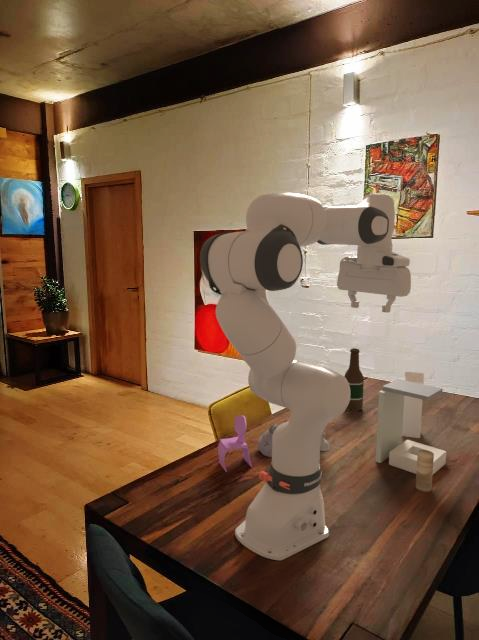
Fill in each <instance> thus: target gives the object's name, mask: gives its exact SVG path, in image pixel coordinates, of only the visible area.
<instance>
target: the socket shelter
mask: <svg viewBox="0 0 479 640" xmlns="http://www.w3.org/2000/svg"><path fill="white" fill-rule="evenodd" d="M443 390H444V389H443V387H442V388H441V387H436V386H432V385H428V384H424V385H423V384H419V383H414V382H409V381H405V379H404V380H403V379H399V378H397V379H395V380H393V381H391V382H389V383H386V384H384V385H382V390H380V391H378V406H377V425H376V444H375V445H376V447H375V448H376V449H375V462H376V463H379V464H381V463H383V462H384V461H385V460H387V459H388V466H389V465H390V466H392V467H394V468H398V469H402V470H404V471H407V472H410V473H412V474H415V475H416V472H417V457H418V451H419V450H428V451H431V452H433V453H434V460H433V475H434V474H436V473H437V472H438V471H439V470H440V469H442V467H443V466H445V465H446V461H447V460H446V459H447V451H446V450H443V449H440V448H437V447H434V446H431V445H427V444H423V443H421V442H417V441H414V440H411V439H406V440H405V441H403V436H402V428H403V411H404V395H405V396H409V397H414V398H418V399H422V400H423V401H426V402H429V401H431V400H432V399H434V398H436V397H437V396H439V395H441V394H442V393H443Z"/></svg>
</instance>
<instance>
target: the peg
mask: <svg viewBox="0 0 479 640" xmlns="http://www.w3.org/2000/svg"><path fill="white" fill-rule="evenodd" d="M433 460H434V453H433V452H431V451H428V450H419V451H418V457H417V472H416V474H415V475H416V476H415V488H416V490H418V491H421V492H423V493H429V492H432V486H433V476H434V474H433Z"/></svg>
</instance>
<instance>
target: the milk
mask: <svg viewBox="0 0 479 640" xmlns="http://www.w3.org/2000/svg"><path fill="white" fill-rule="evenodd" d="M424 377H425V374H424V373H423V372H418V371H417V372H413V371H405V372H404V381H409V382H414V383H419V384H423V385H425V384H424V380H425V379H424ZM423 401H424V400H422V399H418V398H414V397H409V396H405V395H404V411H403V428H402V437H407V438H414V439H421V432H422V430H421V429H422V413H423Z"/></svg>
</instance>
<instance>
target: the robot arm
mask: <svg viewBox="0 0 479 640" xmlns="http://www.w3.org/2000/svg"><path fill="white" fill-rule="evenodd" d="M395 217H396V215H395V203H394V199H393V198H392V197H391V196H390V195H387V194H385V193H383V194H382V193H368V194H365V195H364V196H363V199H362V202H360V203H358V204H357V205H345V206H344V205H340V206H339V205H338V206H337V205H336V206H334V205H323V204H322V203H321V201H320V200H318V199H317V198H314V197H313V196H308V195H306V194H301V193H294V192H271V193H266V194H265V193H264V194H261V195H259V196H257V197H256V198H254V199H253V200H252V201H251V202H250V203H249V205H248V208H247V210H246V215H245V224H246V229H245V230H244V231H235V232H221V233H217V234H215V235H213V236H211V237H209V238H208V239H206V240H205V242H203V244H202V246H201V248H200V252H199V253H200V254H199V261H200V267H201V271H202V273H203V275H204V277H205V280H207V282H208V286H209V288H210V290H211V291H212V292H213V293H216V294H217V295H219V296H220V295H221V296H220V298H219V299H218V301H217V304H216V306H215V316H216V320H217V322H218V324H219V326H220V328H221V330H222V332H223V334H224V335H225V337H226V338H227V340H228V341H229V343H230V344H231V346H232V347H233V349H234V350H236V352H237V354H238V355H239V356H240V357H241V359H242V360H243V361H244V362H245V363H246V364H247V366H248V367H249V368H250V369H249V372H248V375H247V376H248V377H247V382H248V387H249V390H250V391H251V392H252V393H253V394H254V395H255V396H256V397H258V398H260V399H262V400H263V401H265V402H267V403H269V404H273V405H276V406H279V407H282V408H285V409H288V410H289V414H290V416H289V420H288V421H285V422H283V423H281V424H280V425H278V426H277V428H276V430H275V431H274V433H273V435H272V457H271V462H270V465H269V467H268V472H266V471H264V470H262V471H260V473H259V476H258V477H259V478H258V479H259V480H260V481H264V482H265V483H264V485H263V486H262V487H261V489H259V492H258V493H257V494H256V495H255V497H254V499H253V500H252V501H251V503H250V504H249V506H248V507H247V509H246V515H245V519H244V520H243V521H242V522H241V523H240V524H239V525H238V526H237V527H236V528H235V529H234V531H235V532H234V535H235V538H236V539H237V540H238V542H239V543H241V545H243V546H244V547H245V548H247V549H248V550H250V551H251V552H253V553H255V554H256V555H259V556H261V557H263V558H265V559H270V560H275V561H283V560H285V559H287V558H289V557H292V556H293V555H296V554H297V553H299V552H301V551H303V550H305V549H307V548H310V547H311V546H313V545H315V544H317V543H319V542H322V541H323V540H325V539H327V538H329V536H330V530H329V528H328V526H327V525H326V516H325V515H326V512H325V500H324V496H323V493H322V490H321V486H320V485H321V482H322V476H323V475H322V467H321V466H322V465H321V464H320V455H321V451H320V444H321V437H322V434H323V431H324V432H325V429H326V427H327V426H328V424H329V423H330V422H331V421H333V420H334V419H337V418H338V417H340V416H341V415H342V414H343V413H344V412H345V411H346V410H347V409H346V408H347V406H348V404H349V401H350V395H351V393H350V386H349V383H348V381H347V379H346V378H345V377H344V376H345V375H343V374H341V373H339V372H336V371H335V370H332V369H331V368H328V367H326V366H320V365H316V364H311V363H308V362H304V361H300V360H297V359H296V358H295V357H296V354H297V342H296V340H295V338H294V337H293V335H292V334H291V332H290V331H289V329H288V328H287V326H286V325H285V324H284V322H283V320H282V319H281V317H280V316H279V314H277V312H276V311H275V310H274V308H273V307H272V306H271V304H269V301H268V297H267V294H266V290H267V291H270V292H277V291H282V290H287V289H289V288H291V287H293V286H294V285H295V284H296V282H297V280H299V277H300V275H301V273H302V270H303V265H304V263H303V262H304V260H303V259H304V257H303V253H302V249H301V248H302V247H307V246H310V245H314V244H316V243H318V245H322V246H325V245H326V246H327V245H330V246H331V245H344V246H357V249H356V250H357V251H356V252H357V253H356V256H345V257H344V258H342V259H341V260H340V261H339V270H338V275H337V281H336V286H337V288H338V290H340V291H347V295H348V298H349V300H350V307H351V308H353V309H359V307H360V300H357V298H356V295H357V293H364V294H365V293H366V294H373V295H381V296H382V295H384V296H386V300H387V302H386V304H383V305H382V306H381V312H382V313H390V312H391V307H392V305H393V304H394V302H395V301H396V297H400V298H402V297H407V296H408V295H409V294H410V293H411V290H412V289H411V286H412V276H411V275H412V274H411V271H410V269H409V268H408V267H409V266H410V263H411V260H410V258H409V257H406V256H404V255H402V254H399V253H396V252H394V251H393V242H392V241H393V240H392V239H393V238H392V237H393V233H394V231H395Z"/></svg>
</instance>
